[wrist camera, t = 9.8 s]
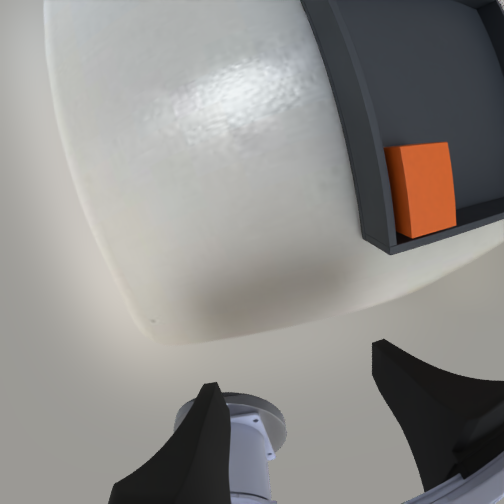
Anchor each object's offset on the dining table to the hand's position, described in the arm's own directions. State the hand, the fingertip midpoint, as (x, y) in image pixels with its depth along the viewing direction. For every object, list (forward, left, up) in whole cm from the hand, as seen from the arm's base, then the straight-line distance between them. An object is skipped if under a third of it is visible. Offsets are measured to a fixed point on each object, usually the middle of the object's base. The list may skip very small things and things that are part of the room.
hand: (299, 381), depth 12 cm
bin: (+14, -19, -10) cm, 26 cm away
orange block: (+6, -11, -10) cm, 16 cm away
